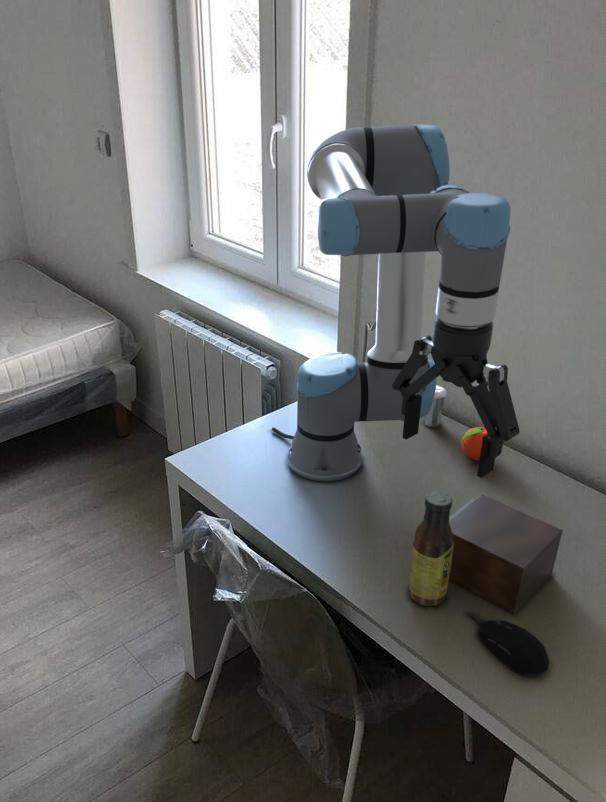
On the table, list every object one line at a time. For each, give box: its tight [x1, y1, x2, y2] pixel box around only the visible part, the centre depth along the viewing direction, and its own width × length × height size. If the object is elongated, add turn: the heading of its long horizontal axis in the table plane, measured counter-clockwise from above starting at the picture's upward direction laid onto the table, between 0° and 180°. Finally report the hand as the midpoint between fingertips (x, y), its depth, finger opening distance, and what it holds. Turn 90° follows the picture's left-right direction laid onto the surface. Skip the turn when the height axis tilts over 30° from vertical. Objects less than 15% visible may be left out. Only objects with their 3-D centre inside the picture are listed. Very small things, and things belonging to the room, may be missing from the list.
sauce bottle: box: [408, 490, 454, 607], centre depth 125 cm, size 6×6×20 cm
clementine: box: [459, 426, 488, 461], centre depth 161 cm, size 8×7×7 cm
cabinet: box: [449, 494, 563, 614], centre depth 131 cm, size 15×13×10 cm
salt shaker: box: [424, 385, 447, 428], centre depth 172 cm, size 4×5×10 cm
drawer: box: [449, 497, 477, 521], centre depth 133 cm, size 15×12×8 cm
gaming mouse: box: [469, 613, 550, 676], centre depth 120 cm, size 6×15×4 cm, turn 30°
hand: (446, 453), depth 114 cm, fingers open, 13 cm apart
